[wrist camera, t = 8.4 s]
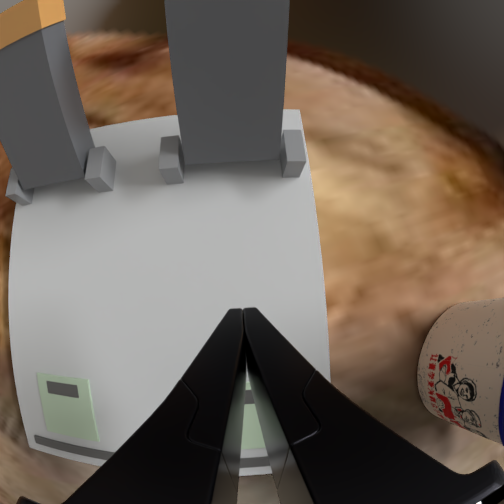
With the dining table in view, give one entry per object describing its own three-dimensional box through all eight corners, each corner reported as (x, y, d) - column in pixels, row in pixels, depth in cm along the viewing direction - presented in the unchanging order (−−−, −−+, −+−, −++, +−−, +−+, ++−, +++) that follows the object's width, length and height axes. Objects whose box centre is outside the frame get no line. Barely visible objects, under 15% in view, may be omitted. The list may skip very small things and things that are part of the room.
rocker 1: (86, 178, 15) (36, -7, 6) (22, 191, 15) (-35, 37, 6) (99, 153, 16) (61, -12, 8) (38, 167, 16) (-8, 24, 8)
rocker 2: (281, 161, 15) (294, -53, 7) (183, 166, 15) (158, -47, 6) (275, 136, 17) (282, -47, 8) (187, 141, 17) (169, -43, 8)
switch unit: (324, 454, 15) (341, 479, 12) (40, 441, 14) (14, 456, 11) (295, 122, 19) (305, 90, 16) (38, 154, 18) (15, 133, 15)
